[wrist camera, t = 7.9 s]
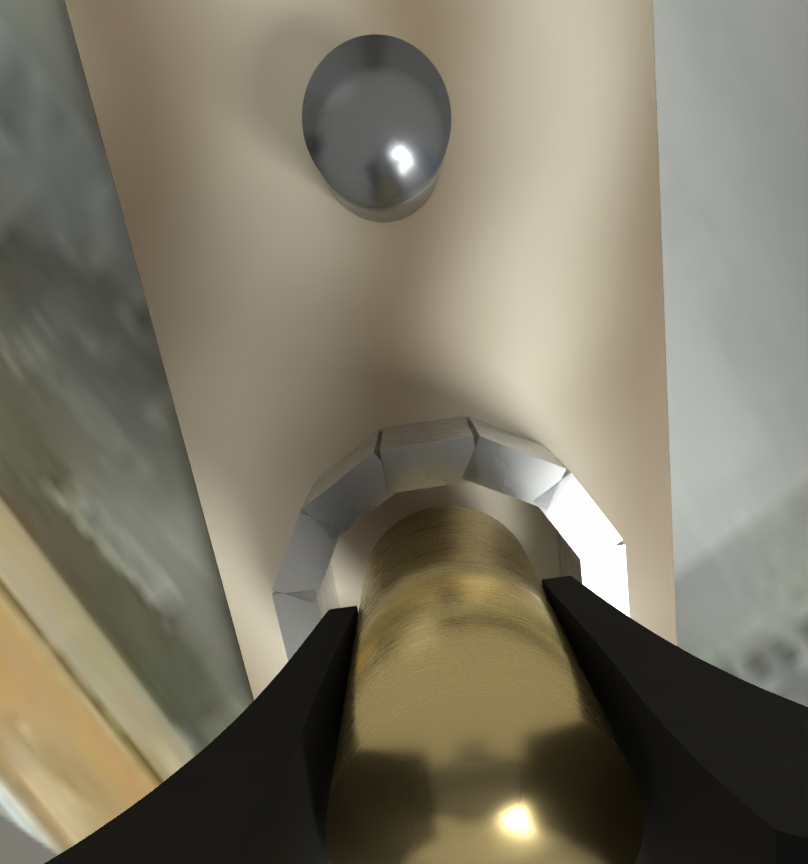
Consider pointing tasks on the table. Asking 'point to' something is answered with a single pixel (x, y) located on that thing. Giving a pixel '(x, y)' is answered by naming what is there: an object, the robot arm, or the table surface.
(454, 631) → the brass knob
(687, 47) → the table surface
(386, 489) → the pipe sockets
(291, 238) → the board
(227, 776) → the robot arm
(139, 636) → the table surface
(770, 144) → the table surface
